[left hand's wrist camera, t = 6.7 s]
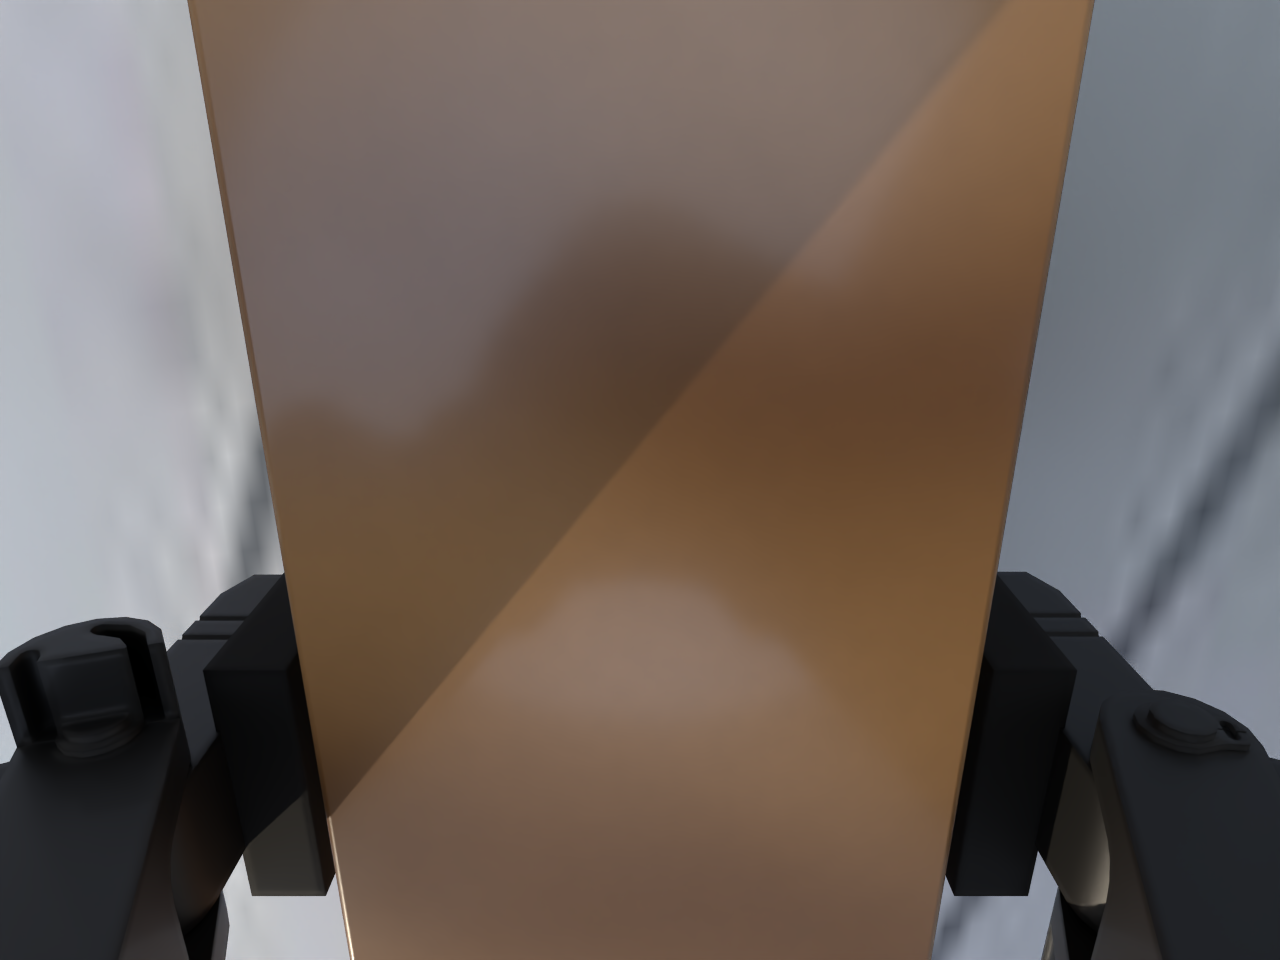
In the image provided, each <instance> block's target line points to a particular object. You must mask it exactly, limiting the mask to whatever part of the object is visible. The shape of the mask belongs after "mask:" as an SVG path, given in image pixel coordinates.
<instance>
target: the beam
mask: <svg viewBox="0 0 1280 960" xmlns="http://www.w3.org/2000/svg"><path fill="white" fill-rule="evenodd" d="M187 1H188V7H189V13H190V18H191V24H192V30H193V36H194V42H195V48H196V54H197V60H198V66H199V71H200V77H201V83H202V89H203V95H204V101H205V107H206V113H207V119H208V124H209V130H210V136H211V142H212V148H213V154H214V160H215V166H216V172H217V177H218V183H219V189H220V195H221V201H222V207H223V213H224V219H225V225H226V230H227V236H228V242H229V248H230V254H231V260H232V266H233V272H234V278H235V283H236V289H237V295H238V301H239V307H240V313H241V319H242V325H243V331H244V336H245V342H246V348H247V354H248V360H249V366H250V372H251V378H252V384H253V389H254V395H255V401H256V407H257V413H258V419H259V425H260V431H261V437H262V442H263V448H264V454H265V460H266V466H267V472H268V478H269V484H270V490H271V495H272V501H273V507H274V513H275V519H276V525H277V531H278V537H279V543H280V548H281V554H282V560H283V566H284V572H285V578H286V584H287V590H288V596H289V601H290V607H291V613H292V619H293V625H294V631H295V637H296V643H297V649H298V654H299V660H300V666H301V672H302V678H303V684H304V690H305V696H306V702H307V707H308V713H309V719H310V725H311V731H312V737H313V743H314V749H315V755H316V760H317V766H318V772H319V778H320V784H321V790H322V796H323V802H324V808H325V813H326V819H327V825H328V831H329V837H330V843H331V849H332V855H333V861H334V866H335V872H336V878H337V884H338V890H339V896H340V902H341V908H342V914H343V919H344V925H345V931H346V937H347V943H348V949H349V955H350V960H931V956H932V951H933V945H934V939H935V933H936V927H937V921H938V915H939V910H940V904H941V898H942V892H943V886H944V880H945V874H946V868H947V863H948V857H949V851H950V845H951V839H952V833H953V827H954V822H955V816H956V810H957V804H958V798H959V792H960V786H961V781H962V775H963V769H964V763H965V757H966V751H967V745H968V739H969V734H970V728H971V722H972V716H973V710H974V704H975V698H976V693H977V687H978V681H979V675H980V669H981V663H982V657H983V652H984V646H985V640H986V634H987V628H988V622H989V616H990V610H991V605H992V599H993V593H994V587H995V581H996V575H997V569H998V564H999V558H1000V552H1001V546H1002V540H1003V534H1004V528H1005V523H1006V517H1007V511H1008V505H1009V499H1010V493H1011V487H1012V481H1013V476H1014V470H1015V464H1016V458H1017V452H1018V446H1019V440H1020V435H1021V429H1022V423H1023V417H1024V411H1025V405H1026V399H1027V394H1028V388H1029V382H1030V376H1031V370H1032V364H1033V358H1034V352H1035V347H1036V341H1037V335H1038V329H1039V323H1040V317H1041V311H1042V306H1043V300H1044V294H1045V288H1046V282H1047V276H1048V270H1049V265H1050V259H1051V253H1052V247H1053V241H1054V235H1055V229H1056V223H1057V218H1058V212H1059V206H1060V200H1061V194H1062V188H1063V182H1064V177H1065V171H1066V165H1067V159H1068V153H1069V147H1070V141H1071V135H1072V130H1073V124H1074V118H1075V112H1076V106H1077V100H1078V94H1079V89H1080V83H1081V77H1082V71H1083V65H1084V59H1085V53H1086V48H1087V42H1088V36H1089V30H1090V24H1091V18H1092V12H1093V6H1094V1H1095V0H187Z"/></svg>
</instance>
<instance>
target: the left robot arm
mask: <svg viewBox="0 0 1280 960" xmlns="http://www.w3.org/2000/svg"><path fill="white" fill-rule="evenodd" d="M0 696H1V699H2V702H3V706H4V709H5V712H6V715H7V718H8V721H9V724H10V727H11V730H12V733H13V736H14V739H15V742H16V746H17V749H16V751H15V752H14V754H13V756H12V758H11V760H10V762H7V763H3V764H0V960H225V957H226V949H227V941H228V933H229V919H228V913H227V907H226V903H225V898H224V894H223V888H224V886H225V884H226V882H227V881H228V879H229V877H230V875H231V874H232V872H233V870H234V868H235V866H236V865H237V863H238V861H239V859H240V858H241V856H242V854H243V857H244V861H245V866H246V871H247V875H248V880H249V884H250V889H251V893H252V896H326V894H327V892H328V889H329V887H330V885H331V882H332V880H333V878H334V875H335V873H336V872H335V866H334V861H333V855H332V849H331V843H330V837H329V831H328V825H327V819H326V813H325V808H324V802H323V796H322V790H321V784H320V778H319V772H318V766H317V760H316V755H315V749H314V743H313V737H312V731H311V725H310V719H309V713H308V707H307V702H306V696H305V690H304V684H303V678H302V672H301V666H300V660H299V654H298V649H297V643H296V637H295V631H294V625H293V619H292V613H291V607H290V601H289V596H288V590H287V584H286V578H285V572H284V574H283V575H253V576H251V577H250V578H248V579H246V580H244V581H243V582H241V583H239V584H237V585H236V586H234V587H232V588H230V589H229V590H227V591H225V592H223V593H221V594H220V595H219V596H218V597H217V598H216V600H215V601H214V602H213V603H212V604H211V605H210V606H209V607H208V608H207V609H206V610H205V611H204V612H203V613H202V614H201V616H200V621H195V622H194V623H193V624H192V625H191V626H190V627H189V628H188V629H187V630H186V632H185V633H184V634H183V635H182V640H177V641H176V642H175V643H174V644H173V645H172V646H171V648H170V649H169V650H168V651H167V652H166V647H165V643H164V639H163V635H162V630H161V629H160V628H159V627H157V626H156V625H154V624H153V623H151V622H150V621H148V620H141V619H135V618H129V617H118V618H103V619H94V620H90V621H85V622H81V623H76V624H72V625H67V626H64V627H61V628H58V629H56V630H53V631H50V632H48V633H45V634H42V635H40V636H37V637H35V638H33V639H31V640H29V641H27V642H26V643H24V644H22V645H21V646H19V647H17V648H15V649H14V650H12V651H10V652H8V653H7V654H6V655H5V656H4V657H3V658H2V659H1V660H0ZM1038 851H1039V853H1040V855H1041V857H1042V858H1043V860H1044V862H1045V864H1046V866H1047V867H1048V869H1049V871H1050V873H1051V874H1052V876H1053V878H1054V880H1055V881H1056V883H1057V885H1058V890H1057V894H1056V898H1055V903H1054V907H1053V911H1052V915H1051V920H1050V924H1049V928H1048V932H1047V937H1046V941H1045V945H1044V949H1043V954H1042V958H1041V960H1280V760H1277V759H1273V758H1269V757H1268V755H1267V753H1266V751H1265V749H1264V747H1263V746H1262V744H1261V743H1260V742H1259V741H1258V740H1257V738H1256V737H1255V736H1254V735H1253V734H1252V732H1251V731H1250V730H1249V729H1248V728H1247V727H1245V726H1244V725H1243V724H1241V723H1240V722H1238V721H1237V720H1235V719H1234V718H1232V717H1231V716H1229V715H1228V714H1226V713H1225V712H1223V711H1221V710H1219V709H1217V708H1214V707H1212V706H1210V705H1207V704H1205V703H1203V702H1201V701H1198V700H1196V699H1193V698H1190V697H1186V696H1182V695H1178V694H1174V693H1170V692H1166V691H1159V690H1153V689H1152V688H1151V687H1150V686H1149V685H1148V684H1147V683H1146V682H1145V681H1144V680H1143V678H1142V677H1141V676H1140V675H1139V674H1138V673H1137V672H1136V671H1135V670H1134V669H1133V668H1132V667H1131V666H1130V665H1129V664H1128V663H1127V662H1126V661H1125V659H1124V658H1123V657H1122V656H1121V655H1120V654H1119V653H1118V652H1117V651H1116V650H1115V649H1114V648H1113V647H1112V646H1111V645H1110V644H1109V643H1108V641H1107V640H1106V639H1105V638H1104V637H1099V635H1098V631H1097V630H1096V629H1095V628H1094V627H1093V626H1092V625H1091V623H1090V622H1089V621H1088V620H1087V619H1086V618H1081V613H1080V612H1079V611H1078V610H1077V609H1076V608H1075V607H1074V605H1073V604H1072V603H1071V602H1070V601H1069V600H1068V599H1067V598H1066V597H1065V596H1064V595H1063V594H1062V593H1061V592H1060V591H1059V590H1057V589H1055V588H1054V587H1052V586H1050V585H1048V584H1047V583H1045V582H1043V581H1041V580H1039V579H1038V578H1036V577H1034V576H1032V575H1031V574H1029V573H1027V572H997V575H996V581H995V587H994V593H993V599H992V605H991V610H990V616H989V622H988V628H987V634H986V640H985V646H984V652H983V657H982V663H981V669H980V675H979V681H978V687H977V693H976V698H975V704H974V710H973V716H972V722H971V728H970V734H969V739H968V745H967V751H966V757H965V763H964V769H963V775H962V781H961V786H960V792H959V798H958V804H957V810H956V816H955V822H954V827H953V833H952V839H951V845H950V851H949V857H948V863H947V868H946V874H945V875H946V877H947V880H948V882H949V885H950V887H951V889H952V892H953V894H954V896H1028V893H1029V889H1030V884H1031V880H1032V875H1033V871H1034V866H1035V862H1036V857H1037V852H1038Z"/></svg>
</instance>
